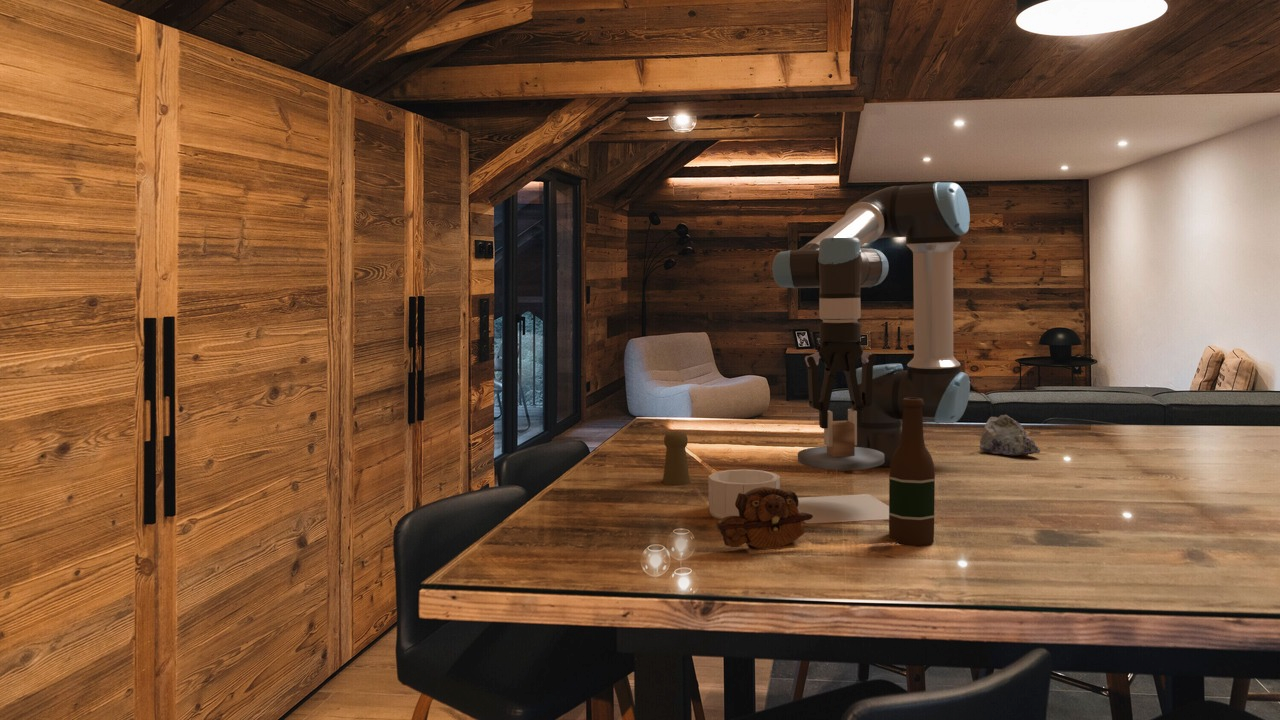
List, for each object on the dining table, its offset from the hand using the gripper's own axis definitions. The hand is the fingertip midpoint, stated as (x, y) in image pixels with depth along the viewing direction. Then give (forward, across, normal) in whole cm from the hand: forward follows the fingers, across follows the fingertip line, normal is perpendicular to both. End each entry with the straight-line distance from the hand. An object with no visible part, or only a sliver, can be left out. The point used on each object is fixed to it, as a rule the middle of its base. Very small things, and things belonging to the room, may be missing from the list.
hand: (840, 444), depth 174 cm
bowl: (+13, +18, -2) cm, 22 cm away
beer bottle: (+13, -5, +21) cm, 25 cm away
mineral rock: (+14, -58, -44) cm, 74 cm away
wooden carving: (+13, +20, +21) cm, 32 cm away
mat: (+13, 0, 0) cm, 13 cm away
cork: (+13, +26, -31) cm, 42 cm away
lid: (+3, 0, 0) cm, 3 cm away
